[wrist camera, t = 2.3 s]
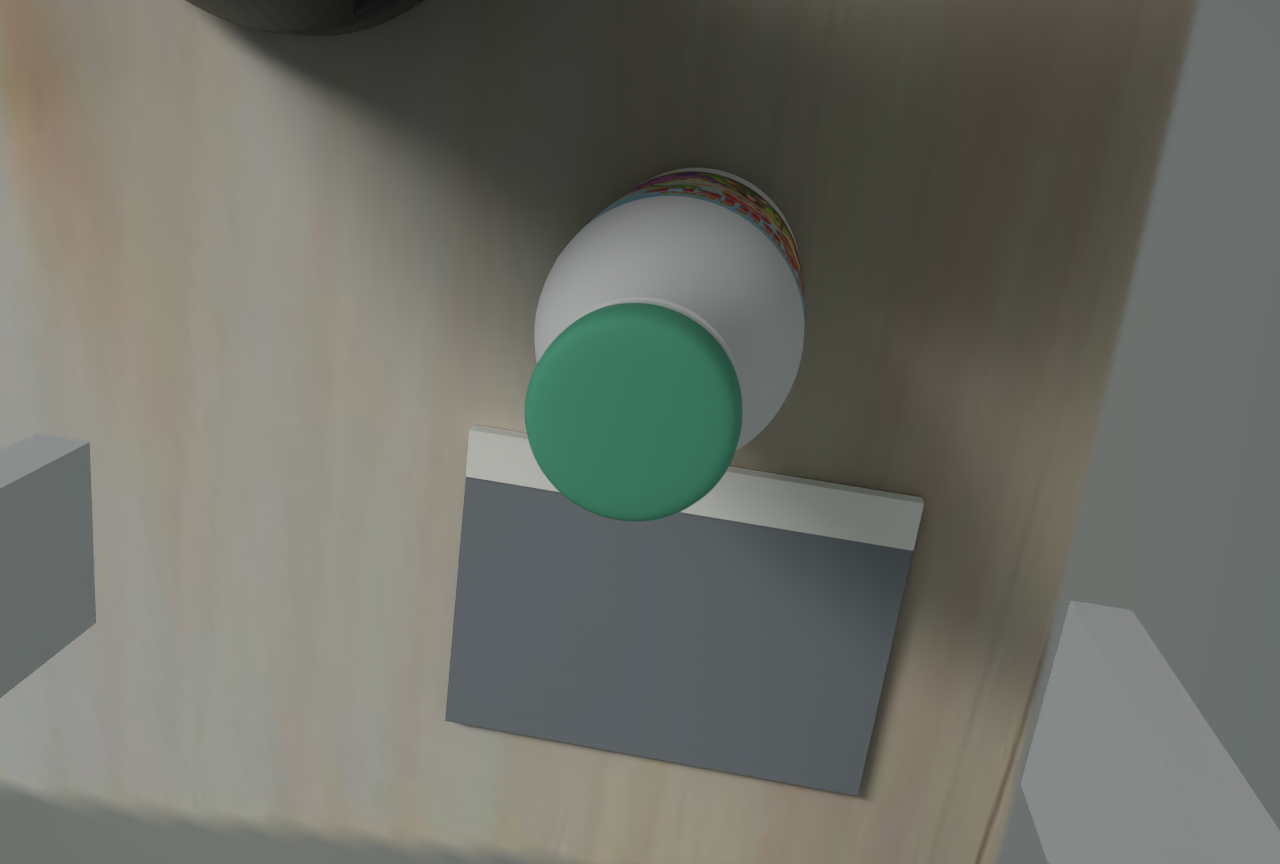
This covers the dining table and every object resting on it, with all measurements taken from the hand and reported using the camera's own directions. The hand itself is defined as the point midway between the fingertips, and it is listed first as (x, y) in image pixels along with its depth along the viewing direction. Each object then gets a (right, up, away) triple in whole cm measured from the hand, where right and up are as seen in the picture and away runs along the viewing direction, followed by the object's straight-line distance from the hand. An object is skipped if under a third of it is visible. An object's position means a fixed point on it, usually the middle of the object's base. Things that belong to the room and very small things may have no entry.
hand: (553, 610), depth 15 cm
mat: (+2, -5, +31) cm, 32 cm away
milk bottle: (+3, +9, +27) cm, 29 cm away
